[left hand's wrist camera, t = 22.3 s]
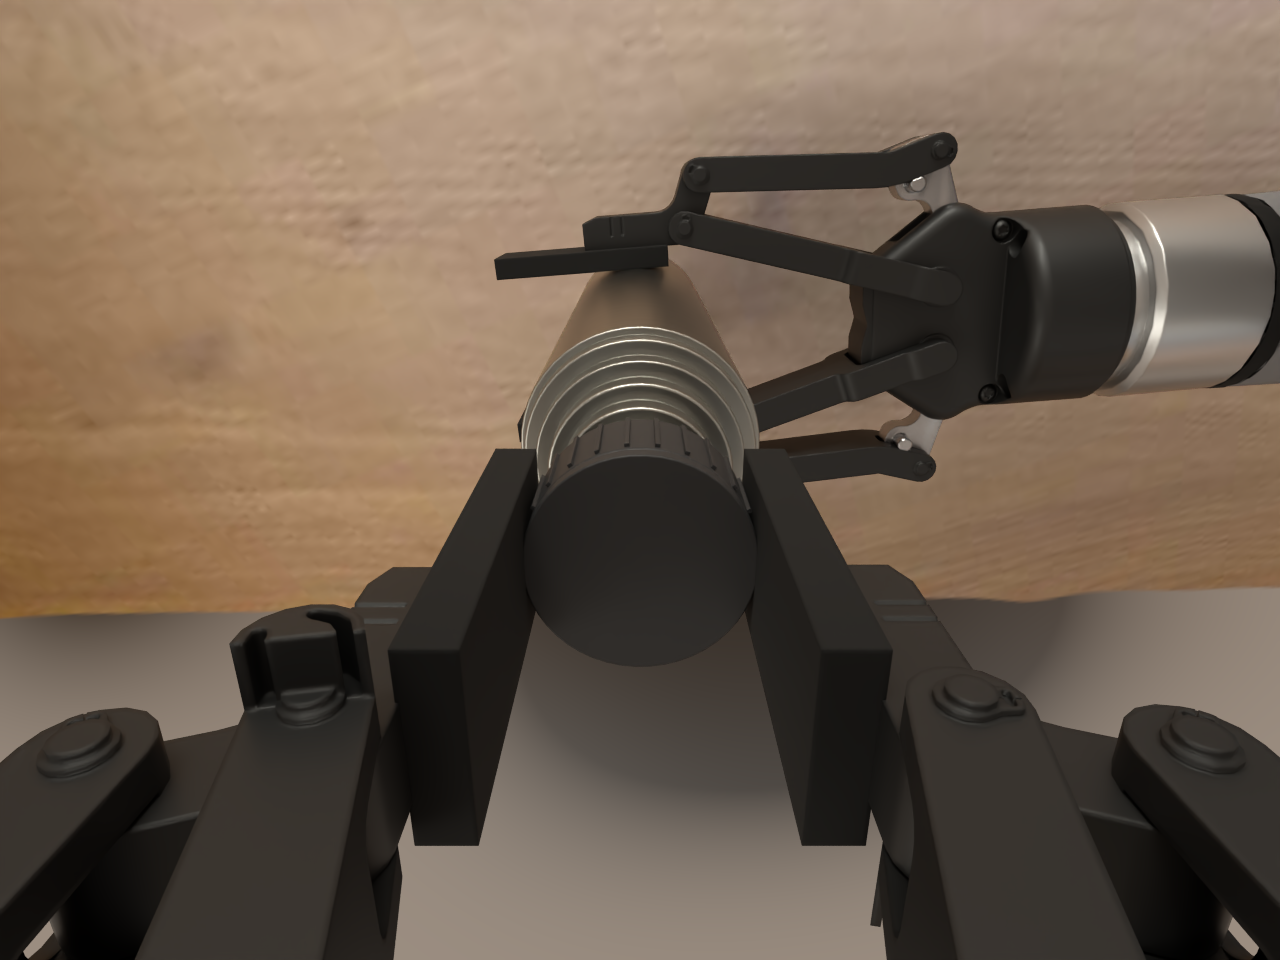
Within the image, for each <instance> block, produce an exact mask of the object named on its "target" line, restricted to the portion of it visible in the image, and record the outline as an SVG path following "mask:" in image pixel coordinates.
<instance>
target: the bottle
mask: <svg viewBox="0 0 1280 960" xmlns="http://www.w3.org/2000/svg"><path fill="white" fill-rule="evenodd" d="M668 262H669V266H668V267H655V268H643V269H630V270H618V271H605V272H595V273H594V275H593V276H592V277H591V279H590V280H589V282H588V284H587V286H586V288H585V290H584V291H583V293H582V295H581V297H580V299H579V301H578V303H577V305H576V307H575V309H574V311H573V313H572V315H571V317H570V319H569V321H568V323H567V325H566V327H565V328H564V330H563V332H562V334H561V336H560V338H559V340H558V342H557V344H556V346H555V348H554V350H553V352H552V354H551V356H550V358H549V360H548V362H547V364H546V365H545V367H544V369H543V371H542V373H541V375H540V377H539V379H538V381H537V383H536V385H535V387H534V389H533V391H532V393H531V395H530V398H529V400H528V403H527V406H526V409H525V412H524V416H523V423H522V429H521V449H537V465H538V484H539V481H540V478H541V476H542V475H546V473H547V472H548V470H549V468H550V466H551V465H552V462H553V459H554V456H555V455H556V453H558V454H559V455H560V454H561V452H562V451H563V450H564V449H565V448H566V447H567V446H569V445H570V444H571V443H572V442H573V440H574V437H576V436H577V435H578V437H581V436H583V435H584V434H586V433H588V432H589V431H591V430H594V429H596V428H598V425H599V424H601V423H603V425H607V424H610V423H614V422H618V421H625V420H626V418H628V417H630V420H637V419H647V420H654V418H659V421H662V422H666V423H671V424H674V425H677V426H680V427H681V425H685V426H686V429H687V430H689V431H691V432H693V433H695V434H697V435H699V436H700V437H702V438H703V439H705V438H708V439H709V440H710V444H711V445H712V446H713V447H714V448H715V449H716V450H717V451H718V452H719V453H720V454H721V455H722V456H723V457H724V456H727V457H728V459H729V462H730V465H731V468H732V470H733V472H734V474H735V475H736V478H739V477H740V479H741V481H742V475H743V455H744V449H759V426H758V419H757V414H756V411H755V407H754V404H753V401H752V399H751V397H750V394H749V392H748V390H747V388H746V386H745V384H744V382H743V380H742V378H741V376H740V374H739V372H738V370H737V368H736V366H735V365H734V363H733V361H732V359H731V357H730V355H729V353H728V351H727V349H726V347H725V345H724V343H723V341H722V339H721V337H720V336H719V334H718V332H717V330H716V328H715V326H714V324H713V322H712V320H711V318H710V316H709V314H708V312H707V310H706V308H705V307H704V305H703V303H702V301H701V299H700V297H699V295H698V293H697V291H696V289H695V287H694V285H693V283H692V282H691V280H690V279H689V277H688V276H687V275H686V273H685V272H684V271H683V270H682V269H681V268H680V267H679V266H678V265H676V264H675V263H674V262H672V261H671V260H669V259H668Z"/></svg>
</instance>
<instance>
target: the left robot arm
mask: <svg viewBox="0 0 1280 960" xmlns="http://www.w3.org/2000/svg"><path fill="white" fill-rule="evenodd" d="M742 484H743V487H744V490H745V493H746V496H747V499H748V502H749V504H750V507H751V510H752V513H750V514H749V515H750V518H751V521H752V524H753V527H754V530H755V534H756V538H757V559H756V575H755V589H754V592H753V595H752V598H751V600H750V602H749V604H748V606H747V608H746V610H745V613H746V617H747V622H748V626H749V630H750V634H751V638H752V642H753V646H754V650H755V655H756V659H757V663H758V667H759V671H760V675H761V679H762V683H763V687H764V692H765V696H766V700H767V704H768V708H769V712H770V716H771V720H772V724H773V729H774V733H775V737H776V741H777V745H778V749H779V753H780V758H781V762H782V766H783V770H784V774H785V778H786V782H787V786H788V790H789V795H790V798H791V803H792V807H793V811H794V815H795V819H796V823H797V827H798V832H799V836H800V840H801V844H802V846H866V840H867V833H868V826H869V819H870V812H871V810H872V813H873V815H874V818H875V821H876V824H877V826H878V829H879V832H880V834H881V837H882V840H883V844H882V851H881V857H880V864H879V871H878V877H877V884H876V890H875V897H874V904H873V910H872V917H871V924H870V925H872V926H878V927H880V926H881V921H882V920H883V929H884V938H885V947H886V956H887V960H1280V757H1279V756H1277V755H1276V754H1275V753H1274V752H1273V751H1272V750H1270V749H1269V748H1268V747H1267V746H1266V745H1264V744H1263V743H1261V742H1260V741H1259V740H1257V739H1256V738H1254V737H1253V736H1251V735H1250V734H1248V733H1247V732H1245V731H1244V730H1242V729H1241V728H1239V727H1237V726H1235V725H1232V724H1230V723H1228V722H1226V721H1223V720H1221V719H1219V718H1217V717H1216V716H1214V715H1211V714H1209V713H1206V712H1202V711H1195V709H1191V708H1186V707H1180V706H1169V705H1157V704H1154V705H1149V706H1143V707H1138V708H1134V709H1133V710H1132V711H1131V712H1130V713H1128V714H1127V715H1126V716H1125V717H1124V719H1123V722H1122V726H1121V729H1120V733H1119V737H1118V738H1114V737H1109V736H1104V735H1100V734H1095V733H1090V732H1085V731H1080V730H1075V729H1070V728H1065V727H1061V726H1057V725H1054V724H1050V723H1046V722H1042V721H1040V718H1039V716H1038V714H1037V712H1036V710H1035V708H1034V707H1033V706H1032V704H1031V703H1030V702H1029V700H1028V699H1027V698H1026V696H1025V695H1024V694H1023V693H1021V692H1020V691H1019V690H1017V689H1016V688H1014V687H1013V686H1011V685H1010V684H1009V683H1007V682H1006V681H1004V680H1001V679H999V678H996V677H994V676H992V675H989V674H987V673H985V672H982V671H977V670H973V669H972V667H971V666H970V664H969V663H968V661H967V660H966V659H965V657H964V656H963V654H962V653H961V651H960V650H959V648H958V647H957V645H956V644H955V642H954V641H953V639H952V638H951V636H950V635H949V634H948V632H947V631H946V629H945V628H944V626H943V625H942V623H941V622H940V621H937V616H936V615H935V613H934V612H933V610H932V609H931V607H930V606H929V605H926V600H925V598H924V597H923V595H922V594H921V592H920V591H919V590H918V588H917V587H916V585H915V584H914V582H913V581H912V580H910V579H909V578H907V577H905V576H904V575H902V574H901V573H899V572H898V571H896V570H895V569H893V568H892V567H890V566H889V565H847V563H846V562H845V560H844V558H843V556H842V554H841V552H840V550H839V549H838V547H837V545H836V543H835V541H834V539H833V537H832V536H831V534H830V532H829V530H828V528H827V526H826V524H825V523H824V521H823V519H822V517H821V515H820V513H819V511H818V510H817V508H816V506H815V504H814V502H813V500H812V499H811V497H810V495H809V493H808V491H807V489H806V487H805V486H804V484H803V482H802V480H801V478H800V476H799V474H798V473H797V471H796V469H795V467H794V465H793V463H792V461H791V460H790V458H789V456H788V454H787V452H786V450H785V449H744V455H743V475H742ZM537 487H538V465H537V449H495V451H494V453H493V455H492V457H491V459H490V461H489V462H488V464H487V466H486V468H485V470H484V472H483V474H482V475H481V477H480V479H479V481H478V483H477V485H476V487H475V488H474V490H473V492H472V494H471V496H470V498H469V499H468V501H467V503H466V505H465V507H464V509H463V511H462V512H461V514H460V516H459V518H458V520H457V522H456V524H455V525H454V527H453V529H452V531H451V533H450V535H449V537H448V538H447V540H446V542H445V544H444V546H443V548H442V550H441V551H440V553H439V555H438V557H437V559H436V561H435V563H434V564H433V566H432V567H393V568H391V569H390V570H388V571H387V572H385V573H384V574H382V575H381V576H379V577H378V578H376V579H375V580H373V581H372V582H370V583H369V584H368V585H367V586H366V588H365V589H364V591H363V592H362V593H361V595H360V596H359V598H358V599H357V601H356V602H355V607H352V608H351V609H350V608H346V607H342V606H338V605H306V606H300V607H295V608H289V609H285V610H282V611H279V612H277V613H274V614H271V615H268V616H266V617H263V618H261V619H259V620H257V621H256V622H254V623H252V624H251V625H249V626H247V627H246V628H244V629H242V630H241V631H240V632H239V634H238V635H237V636H236V637H235V638H234V639H233V640H232V641H231V642H230V649H231V653H232V658H233V662H234V666H235V671H236V675H237V679H238V684H239V688H240V693H241V697H242V702H243V706H244V713H243V715H242V717H241V720H240V722H239V724H238V725H236V726H232V727H228V728H225V729H221V730H217V731H212V732H207V733H202V734H197V735H193V736H188V737H183V738H178V739H173V740H168V741H163V738H162V734H161V731H160V727H159V723H158V721H157V720H156V719H155V718H154V717H153V716H151V715H150V714H149V713H148V712H147V711H142V710H136V709H131V708H117V709H106V710H98V711H93V712H88V713H87V714H84V715H83V714H81V715H78V716H74V717H72V718H69V719H67V720H65V721H63V722H61V723H59V724H57V725H55V726H53V727H50V728H48V729H46V730H44V731H42V732H40V733H39V734H37V735H36V736H34V737H33V738H31V739H30V740H28V741H27V742H26V743H24V744H23V745H21V746H20V747H18V748H17V749H16V750H15V751H13V752H12V753H11V754H10V755H9V756H8V757H6V758H5V759H4V760H3V761H2V762H1V763H0V960H393V958H394V949H395V940H396V931H397V921H398V912H399V903H400V894H401V885H402V871H401V864H400V857H399V851H398V843H399V840H400V837H401V834H402V832H403V829H404V826H405V823H406V821H407V818H408V815H409V813H410V815H411V822H412V830H413V837H414V844H415V846H478V845H479V842H480V838H481V833H482V830H483V825H484V821H485V817H486V813H487V809H488V805H489V801H490V797H491V792H492V788H493V784H494V780H495V776H496V772H497V768H498V764H499V760H500V755H501V751H502V747H503V743H504V739H505V735H506V731H507V727H508V722H509V718H510V714H511V710H512V706H513V702H514V698H515V694H516V689H517V685H518V681H519V677H520V673H521V669H522V665H523V661H524V657H525V652H526V648H527V644H528V640H529V636H530V632H531V628H532V624H533V619H534V615H535V611H536V610H535V608H534V606H533V604H532V603H531V601H530V598H529V596H528V593H527V590H526V582H525V567H524V549H523V542H524V537H525V533H526V530H527V527H528V524H529V521H530V518H531V515H532V512H533V510H530V508H531V505H532V502H533V499H534V496H535V493H536V490H537ZM1232 917H1234V919H1235V920H1236V921H1237V922H1238V923H1239V924H1240V926H1241V927H1242V928H1243V929H1244V930H1245V931H1246V933H1247V934H1248V935H1249V936H1250V937H1251V938H1252V940H1253V941H1254V942H1255V943H1256V944H1257V945H1258V947H1259V949H1258V952H1257V954H1256V955H1255V956H1253V955H1251V954H1250V953H1249V952H1248V951H1247V950H1246V949H1245V948H1244V947H1243V946H1241V945H1240V943H1239V942H1238V941H1237V940H1236V939H1235V937H1234V936H1233V935H1232V934H1231V933H1230V931H1229V930H1228V928H1229V925H1230V923H1231V920H1232ZM48 921H50V923H51V926H52V929H53V931H54V933H53V934H52V935H51V936H50V938H49V939H48V940H47V941H46V942H45V944H44V945H43V946H42V947H41V948H40V949H39V950H38V951H37V952H36V953H34V954H33V955H32V956H31V957H30V958H29V959H28V958H26V957H25V955H24V952H23V951H24V950H25V948H26V947H27V946H28V945H29V944H30V942H31V941H32V940H33V939H34V938H35V937H36V935H37V934H38V933H39V932H40V931H41V930H42V928H43V927H44V926H45V925H46V924H47V923H48Z"/></svg>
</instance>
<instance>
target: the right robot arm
mask: <svg viewBox="0 0 1280 960" xmlns="http://www.w3.org/2000/svg"><path fill="white" fill-rule="evenodd" d="M957 151H958V148H957V142H956V140H955V138H954V137H953V136H952V135H951V134H949V133H945V132H941V133H934V134H928V135H923V136H917V137H913V138H911V139H908V140H906V141H904V142H901V143H899V144H896V145H894V146H891V147H889V148H886V149H884V150H881V151H879V152H873V153H835V154H797V155H759V156H721V157H698V158H694V159H691V160H689V161H688V162H687V163H685V164H684V166H683V167H682V169H681V173H680V177H679V181H678V185H677V188H676V192H675V195H674V198H673V200H672V202H671V203H670V205H669V206H667V207H666V208H665V209H663V210H661V211H656V212H644V213H632V214H619V215H607V216H597V217H595V218H593V219H591V220H589V221H587V222H585V223H584V224H582V226H583V236H584V246H585V247H578V248H566V249H553V250H541V251H528V252H516V253H506V254H504V255H502V256H500V257H498V258H496V259H494V262H495V269H496V276H497V280H504V279H517V278H530V277H542V276H555V275H567V274H580V273H592V272H605V271H618V270H630V269H643V268H655V267H668V266H669V262H668V245H683V246H688V247H692V248H696V249H701V250H705V251H710V252H714V253H718V254H723V255H727V256H731V257H736V258H740V259H744V260H749V261H753V262H758V263H762V264H766V265H771V266H775V267H779V268H784V269H788V270H793V271H797V272H801V273H806V274H810V275H814V276H819V277H823V278H828V279H832V280H836V281H840V282H843V283H847V284H850V296H849V298H850V302H851V306H852V310H853V314H854V319H853V323H852V326H851V330H850V333H849V344H848V348H847V349H845V350H842V351H839V352H837V353H834V354H832V355H829V356H828V357H826V358H825V360H823V361H821V362H819V363H816V364H814V365H811V366H808V367H806V368H803V369H800V370H797V371H795V372H792V373H789V374H787V375H784V376H781V377H779V378H776V379H773V380H771V381H768V382H765V383H762V384H760V385H757V386H754V387H752V388H749V389H747V390H748V392H749V394H750V397H751V399H752V401H753V404H754V407H755V411H756V414H757V419H758V426H759V432H762V431H765V430H767V429H770V428H773V427H776V426H778V425H781V424H784V423H787V422H790V421H792V420H795V419H798V418H801V417H803V416H806V415H809V414H812V413H814V412H817V411H820V410H823V409H825V408H828V407H831V406H834V405H836V404H839V403H842V402H854V401H859V400H863V399H865V398H868V397H871V396H874V395H876V394H879V393H882V392H885V391H887V392H888V393H890V394H891V395H893V396H894V397H896V398H897V399H899V400H901V401H902V402H904V403H905V404H907V405H908V406H910V407H912V408H913V410H912V412H911V414H910V415H909V416H907V417H906V418H904V419H901V420H891V421H888V422H887V423H885V424H883V426H882V427H881V429H880V431H876V430H849V431H841V432H833V433H825V434H817V435H809V436H801V437H793V438H785V439H776V440H768V441H760V442H759V449H785V450H786V452H787V454H788V456H789V458H790V460H791V461H792V463H793V465H794V467H795V469H796V471H797V473H798V474H799V476H800V478H801V480H802V482H803V483H804V482H812V481H820V480H828V479H837V478H845V477H853V476H862V475H870V474H878V473H879V474H884V475H889V476H893V477H898V478H903V479H907V480H912V481H917V482H923V481H926V480H928V479H929V478H931V477H932V476H933V474H934V473H935V470H936V463H935V461H934V459H933V458H932V457H931V456H930V452H931V449H932V446H933V444H934V441H935V439H936V436H937V433H938V431H939V428H940V425H941V423H942V420H944V419H949V418H952V417H954V416H956V415H958V414H959V413H961V412H963V411H965V410H967V409H969V408H971V407H974V406H978V405H988V404H1008V403H1021V402H1034V401H1047V400H1060V399H1074V398H1082V397H1086V396H1088V395H1090V394H1092V393H1094V394H1096V395H1098V396H1121V395H1132V394H1143V393H1153V392H1164V391H1175V390H1186V389H1197V388H1220V387H1226V386H1243V385H1260V384H1278V383H1280V191H1273V192H1263V193H1254V194H1244V195H1241V194H1226V195H1223V194H1220V195H1207V196H1194V197H1180V198H1167V199H1154V200H1141V201H1128V202H1117V203H1111V204H1106V205H1104V206H1103V207H1101V208H1096V207H1094V206H1090V205H1078V206H1065V207H1053V208H1040V209H1028V210H1015V211H1002V212H982V211H979V210H977V209H975V208H973V207H972V206H970V205H968V204H964V203H958V199H957V195H956V191H955V186H954V182H953V177H952V173H951V169H950V164H951V163H952V161H953V160H954V159H955V157H956V154H957ZM882 187H889V191H890V193H891V195H892V196H893V197H894V198H896V199H898V200H905V201H912V200H916V201H918V202H919V203H920V204H921V205H922V206H923V209H924V212H923V213H921V214H920V215H919V216H918V217H917V218H915V219H914V220H913V221H912V222H910V223H909V224H908V225H907V226H905V227H904V228H903V229H902V230H900V231H899V232H898V233H897V234H895V235H894V236H893V237H892V238H890V239H889V240H888V241H887V242H886V243H884V244H883V245H882V246H881V247H879V248H878V249H877V250H876V251H874V252H873V253H871V252H866V251H862V250H858V249H854V248H849V247H845V246H841V245H836V244H831V243H827V242H822V241H818V240H814V239H809V238H805V237H801V236H797V235H792V234H788V233H784V232H779V231H775V230H771V229H766V228H762V227H758V226H754V225H749V224H745V223H741V222H736V221H732V220H728V219H724V218H719V217H715V216H711V215H706V214H705V210H706V207H707V203H708V200H709V196H710V193H711V192H747V191H785V190H824V189H862V188H882ZM524 412H525V411H524ZM523 416H524V413H523V414H522V416H521V418H520V420H519V422H518V424H517V425H518V432H519V439H520V442H521V429H522V423H523Z"/></svg>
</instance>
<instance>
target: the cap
mask: <svg viewBox="0 0 1280 960" xmlns="http://www.w3.org/2000/svg"><path fill="white" fill-rule="evenodd" d="M530 510H533V512H532V515H531V518H530V521H529V524H528V527H527V530H526V533H525V537H524V542H523V549H524V567H525V582H526V590H527V593H528V596H529V598H530V601H531V603H532V604H533V606H534V608H535V610H536V612H537V613H538V615H539V616H540V618H541V619H542V620H543V622H544V623H545V624H546V625H547V627H548V628H549V629H550V630H551V631H552V632H553V633H554V634H555V635H556V636H558V637H559V638H560V639H561V640H563V641H564V642H565V643H566V644H568V645H569V646H571V647H573V648H574V649H576V650H577V651H579V652H581V653H583V654H585V655H588V656H590V657H592V658H595V659H598V660H601V661H604V662H607V663H612V664H617V665H622V666H633V667H648V666H657V665H665V664H669V663H673V662H677V661H680V660H683V659H686V658H688V657H691V656H694V655H695V654H697V653H699V652H701V651H703V650H705V649H707V648H708V647H710V646H711V645H713V644H714V643H716V642H717V641H718V640H720V639H721V638H722V637H723V636H724V635H725V634H727V633H728V632H729V631H730V629H731V628H732V627H733V626H734V625H735V624H736V623H737V622H738V620H739V619H740V617H741V616H742V614H743V613H744V611H745V610H746V608H747V606H748V604H749V602H750V600H751V598H752V595H753V592H754V589H755V575H756V559H757V538H756V534H755V530H754V527H753V524H752V521H751V518H750V515H749V514H750V513H752V510H751V507H750V504H749V502H748V499H747V496H746V493H745V490H744V487H743V484H742V481H741V479H740V477H739V478H736V475H735V474H734V472H733V470H732V468H731V465H730V462H729V459H728V457H727V456H724V457H723V456H722V455H721V454H720V453H719V452H718V451H717V450H716V449H715V448H714V447H713V446H712V445H711V444H710V440H709V439H708V438H705V439H703V438H702V437H700V436H699V435H697V434H695V433H693V432H691V431H689V430H687V429H686V426H685V425H681V427H680V426H677V425H674V424H671V423H666V422H662V421H659V418H654V420H647V419H637V420H630V417H628V418H626V420H625V421H618V422H614V423H610V424H607V425H603V423H601V424H599V425H598V428H596V429H594V430H591V431H589V432H588V433H586V434H584V435H583V436H581V437H578V435H577V436H576V437H574V440H573V442H572V443H571V444H570V445H569V446H567V447H566V448H565V449H564V450H563V451H562V452H561V454H560V455H559V454H558V453H556V455H555V456H554V459H553V462H552V465H551V466H550V468H549V470H548V472H547V473H546V475H542V476H541V478H540V481H539V484H538V487H537V490H536V493H535V496H534V499H533V502H532V505H531V508H530Z"/></svg>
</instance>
